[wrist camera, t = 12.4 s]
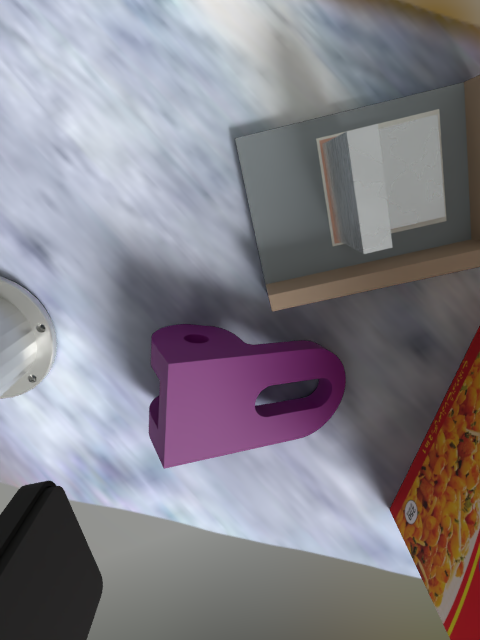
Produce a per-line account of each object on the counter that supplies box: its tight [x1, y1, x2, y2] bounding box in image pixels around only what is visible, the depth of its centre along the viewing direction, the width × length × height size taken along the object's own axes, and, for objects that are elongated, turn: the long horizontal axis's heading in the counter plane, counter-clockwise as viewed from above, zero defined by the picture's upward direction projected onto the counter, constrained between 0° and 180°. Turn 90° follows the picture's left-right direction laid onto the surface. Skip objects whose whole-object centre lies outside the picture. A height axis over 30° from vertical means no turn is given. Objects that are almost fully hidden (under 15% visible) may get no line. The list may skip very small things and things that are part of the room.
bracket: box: [322, 114, 445, 254], centre depth 31 cm, size 9×8×8 cm
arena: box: [235, 75, 480, 311], centre depth 33 cm, size 20×14×5 cm
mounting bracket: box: [149, 324, 346, 468], centre depth 39 cm, size 9×8×18 cm
